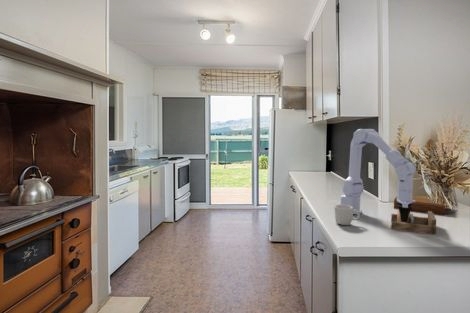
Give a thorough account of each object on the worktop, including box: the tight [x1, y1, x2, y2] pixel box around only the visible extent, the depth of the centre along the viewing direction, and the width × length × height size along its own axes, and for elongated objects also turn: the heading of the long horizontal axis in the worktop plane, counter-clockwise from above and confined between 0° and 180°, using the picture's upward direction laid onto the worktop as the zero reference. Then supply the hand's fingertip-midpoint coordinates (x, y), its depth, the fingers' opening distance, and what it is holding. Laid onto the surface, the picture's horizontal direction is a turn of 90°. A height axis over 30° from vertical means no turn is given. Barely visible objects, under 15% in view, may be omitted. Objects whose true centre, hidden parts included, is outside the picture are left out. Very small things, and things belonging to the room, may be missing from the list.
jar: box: [396, 209, 411, 223], centre depth 133 cm, size 5×5×8 cm
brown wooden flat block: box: [393, 194, 446, 216], centre depth 164 cm, size 23×19×6 cm
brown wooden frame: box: [390, 211, 437, 235], centre depth 132 cm, size 16×15×6 cm
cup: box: [334, 204, 361, 226], centre depth 136 cm, size 11×8×8 cm
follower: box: [410, 213, 415, 224], centre depth 132 cm, size 1×11×4 cm, turn 152°
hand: (403, 220), depth 133 cm, fingers closed on jar, 5 cm apart
